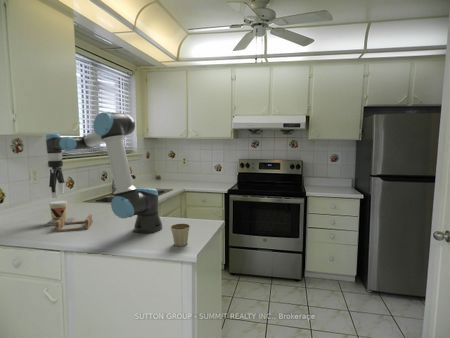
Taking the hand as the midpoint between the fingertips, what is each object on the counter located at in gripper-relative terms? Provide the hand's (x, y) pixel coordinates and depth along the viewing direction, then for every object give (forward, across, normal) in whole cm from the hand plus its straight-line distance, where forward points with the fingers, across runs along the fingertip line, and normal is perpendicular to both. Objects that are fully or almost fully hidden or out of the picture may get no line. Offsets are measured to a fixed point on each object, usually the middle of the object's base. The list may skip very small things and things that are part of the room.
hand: (58, 195), depth 177 cm
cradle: (+17, -12, -11) cm, 23 cm away
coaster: (+16, 0, 0) cm, 17 cm away
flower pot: (+18, -56, -67) cm, 89 cm away
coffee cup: (+16, 0, 0) cm, 16 cm away
